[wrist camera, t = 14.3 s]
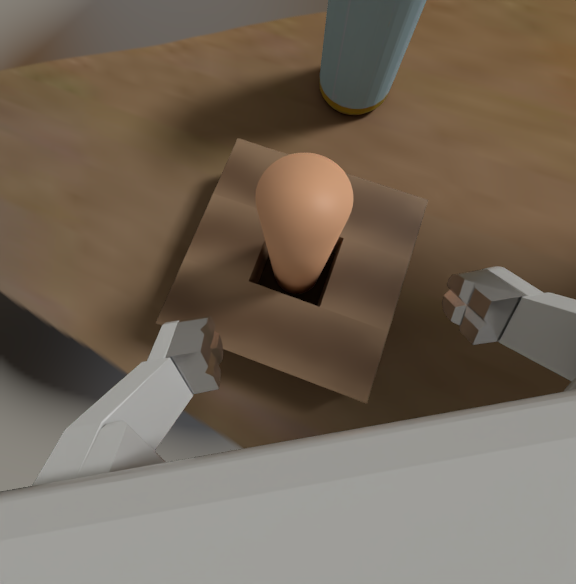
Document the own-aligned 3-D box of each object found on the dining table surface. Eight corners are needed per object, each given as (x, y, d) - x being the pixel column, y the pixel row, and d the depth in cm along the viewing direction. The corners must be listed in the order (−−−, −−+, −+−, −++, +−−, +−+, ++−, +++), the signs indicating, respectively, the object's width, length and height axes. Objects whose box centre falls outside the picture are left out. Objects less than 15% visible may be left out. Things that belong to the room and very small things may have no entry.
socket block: (245, 168, 25) (237, 137, 21) (405, 221, 24) (428, 199, 20) (178, 325, 23) (155, 323, 19) (352, 390, 22) (366, 403, 18)
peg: (283, 245, 24) (275, 140, 11) (324, 259, 24) (365, 169, 11) (267, 285, 23) (240, 224, 10) (309, 300, 23) (335, 257, 10)
